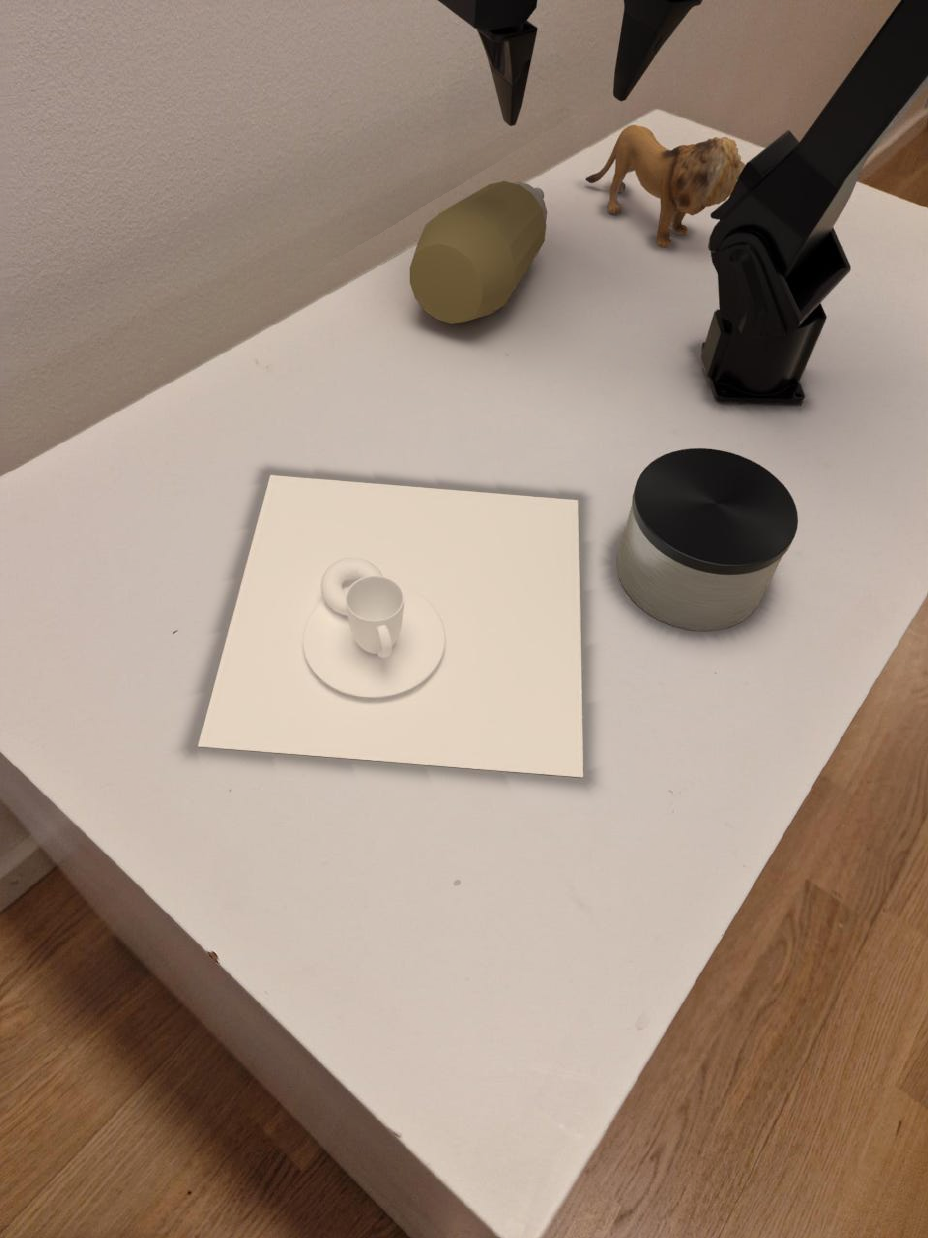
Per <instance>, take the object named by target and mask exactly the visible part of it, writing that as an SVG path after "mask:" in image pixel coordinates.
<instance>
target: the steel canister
mask: <svg viewBox="0 0 928 1238" xmlns="http://www.w3.org/2000/svg"><path fill="white" fill-rule="evenodd" d="M631 501H632V502H631V507H630V510H629V514H628V518H627V520H626V525H625V528H624V531H623V536H622V539H621V543H620V546H619V549H618V553H617V557H616V559H617V560H616V568H617V574H618V578H619V581H620V584H621V585H622V588H623V589H624V590H625V592H626V594H627V595H628V596H629V598H630V599H631V600H632V601H633V602H634V603H635V604H636V605H637V606H638V608H640V609H642V611H643V612H645V613H647V614H648V615H650V616H651V617H653V618H655V619H656V620H658V621H660V622H663V623H665V624H667V625H670V626H672V627H675V628H680V629H685V630H691V631H701V632H709V631H718V630H724V629H727V628H731V627H733V626H736V625H738V624H739V623H741V622H743V621H744V620H746V619H747V618H749V616H751V615H752V614H753V613H754V612H755V610H756V609H757V608H758V606H759V604H760V602H761V601H762V600H763V599H762V598H763V596H764V595H765V593H766V591H767V588H768V586H769V584H770V582H771V581H772V578H773V576H774V574H775V573H776V572H777V569H778V567H779V565H780V564H781V563H780V562H781V560H782V558H783V556H784V555H785V554H786V553H787V552H788V551H789V548H790V547H791V545H792V543H793V541H794V539H795V537H796V535H797V531H798V525H799V516H798V515H799V514H798V509H797V506H796V504H795V501H794V499H793V496H792V495H791V493H790V492H789V490H788V488H786V486H785V485H784V484H783V482H782V481H781V480H780V479H778V477H777V476H776V475H774V474H773V473H772V472H771V471H769V470H768V469H767V468H765V467H763V466H762V465H761V464H759V463H757V462H755V461H754V460H752V459H749V458H747V457H744V456H743V455H740V454H737V453H735V452H731V451H726V450H722V449H715V448H707V447H695V448H694V447H693V448H691V447H690V448H683V449H677V450H674V451H671V452H668V453H665V454H663V455H660V456H658V457H657V458H655V459H654V460H653V461H651V462H650V463H649V464H648V465H647V466H646V467H644V468H643V470H642V471H641V473H640V474H639V476H638V478H637V480H636V483H635V487H634V491H633V493H632V499H631Z"/></svg>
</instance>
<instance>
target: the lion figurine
mask: <svg viewBox="0 0 928 1238" xmlns="http://www.w3.org/2000/svg"><path fill="white" fill-rule="evenodd" d="M613 164H615V165H614V174H613V177H612V181H611V183H610V185H609V194H608V195H609V196H608V203H607V211H608V213H609V214H611V215H617V214H620V213H621V212H622V205H621V204H619V202H618V193H623V192H625V190H626V187H627V185H626V183H625V182H623V181H624V180H625V178H626V176H627V174H630V173H633V172H634V173H635V175H636V177H637V180H638V182H639V184H640V186H641V187H642V188H643V189H644V190H645V191H646V192H647V193H648V194H649V195H651V196H653V197H654V198H657V199H660V209H659V210H660V211H659V220H658V227H657V232H656V245H657V246H658V247H661V248H669V247H670V246H671V245H672V243H673V242H672V239H670V237H671V233H670V230H671V231H672V233H674V234H675V235H678V236H686V234H687V233H688V227H687V225H685V224H683V223H682V222H683V220H684V218H685V216H686V215H687V214H688V215H690V216H695V215H697V214H699V213H700V212H702V211H704V210H705V209H706V208H709V207H712V206H716V205H721V204H722V203H724V202H725V201H726V200H727V199H728V198H729V196H730V195H731V193H732V191H733V189H734V186H735V184H736V182H737V180H738V177H739V175H740V174H741V172H742V170H743V169H744V167H745V165H746V164H745V163H744V162H743V161H742V156H741V155H740V154H739V148H738V147H737V143H736V140H734V139H731V138H729V137H727V136H723V137H718V136H715V137H713V138H708V139H707V140H703V141H700V142H697V143H691V144H680V145H678V146H676V147H674V148H672V149H668V148H666V147H665V146H663V144H661V143H660V142H659V141H658V139H657V138H656V136H655V135H654V133H653V131H651V130H650V128H648V127H646V126H643V125H637V124H630V125H628V126H626V127H625V128H624V129H622V131H621V132H620V134H619V136H617V139H616V142H615V143H614V146H613V148H612V151H611V153H610V155H609V157H608V159H607V161H606V163H605V165H604V166H603V168H602V169H601V170H600V171H598V172H597V173H594V174H593V173H592V174H590V175H589V176H586V177H585V178H584V179H585V182H588V183H589V184H594V183H597V182H599V181H600V180H601V179H602V178H604V176H605V175H606V174H607V173H608V172H609V171H610V169H611V167H612V165H613Z"/></svg>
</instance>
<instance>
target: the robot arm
mask: <svg viewBox="0 0 928 1238" xmlns="http://www.w3.org/2000/svg"><path fill="white" fill-rule="evenodd" d="M437 1H438V2H439V3H440V4H441V5H443V6H445V7H446V8H447V9H448V10H449V11H451V12H452V13H454V14H455V15H457V17H458V18H460V19H462V20H463V21H464V22H465V23H467V24H468V25H469V26H471V27H472V28H473V29H475V30H476V31H477V33H478V35H479V38H480V41H481V43H482V46H483V49H484V51H485V54H486V57H487V61H488V64H489V65H488V66H489V69H490V72H491V73H490V74H491V77H492V82H493V84H494V89H495V93H496V97H497V100H498V101H497V102H498V104H499V109H500V113H501V116H502V119H503V121H504V123H506V124H507V125H508V126H509V127H514V126H516V125H517V122H518V120H519V116H520V113H521V110H522V106H523V102H524V98H525V94H526V87H527V84H528V79H529V73H530V68H531V63H532V59H533V55H534V54H533V53H534V50H535V43H536V39H537V35H538V27H537V26H536V25H534V24H533V23H531V22H530V21H528V20H529V19H530V17H531V16H532V14H533V13H534V12H535V10H536V9H537V7H538V0H437ZM702 3H703V0H623V5H624V6H623V14H622V21H621V27H620V33H619V40H618V46H617V53H616V59H615V65H614V72H613V85H612V96H613V98H615V99H616V100H617V101H618V102H625V101H626V100H627V99H628V97H629V96H630V94H631V93H632V92H633V90H634V89H635V87H636V86H637V84H638V82H639V81H640V80H641V78H642V77H643V75H645V72H646V71H647V70H648V68H649V67H650V66H651V64H652V62H653V60H654V59H655V57H656V56H657V55H658V53H659V52H660V50H661V49H662V47H663V46H664V45H665V44H666V42H667V41H668V40H669V38H670V37H671V35H672V34H673V33H674V32H675V30H676V29H677V28H678V26H679V25H680V24H681V23H682V22H683V20H684V19H685V18H686V16H687V15H688V13H689V12H690V11H691V10H692V9H693V8H694V7H698V6H701V4H702ZM927 85H928V0H900V1H899V2H898V4H896V7H895V8H894V9H893V10H892V12H891V13H890V15H889V16H888V18H887V19H886V20H885V22H884V23H883V24H882V26H881V27H880V28H879V30H878V32H877V33H876V34H875V36H874V37H873V39H872V40H871V41H870V43H869V44H868V45H867V47H866V48H865V50H864V51H863V53H862V54H861V55H860V56H859V58H858V60H857V61H856V63H854V65H853V66H852V68H851V69H850V71H849V72H848V73H847V75H846V76H845V78H844V80H843V81H842V82H841V83H840V85H839V86H838V88H837V89H836V91H834V93H833V95H832V96H831V97H830V99H829V101H828V102H827V103H826V104H825V106H824V107H823V109H822V110H821V111H820V113H819V114H818V116H817V117H816V118H815V120H814V121H813V123H812V124H811V126H810V127H809V128H808V130H807V131H806V132H805V133H804V135H803V136H802V138H801V139H800V141H799V140H798V139H797V138H796V136H795V135H794V133H792V132H791V130H789V129H787V130H786V131H785V132H783V133H782V134H780V136H779V137H777V138H776V139H775V140H773V141H772V142H770V144H768V145H767V146H766V147H765V148H764V149H762V150H761V151H760V152H759V153H757V154H756V155H755V156H754V157H753V158H751V159H750V160H749V161H747V162H746V164H745V167H744V169H743V170H742V172H741V174H740V175H739V177H738V180H737V182H736V184H735V186H734V189H733V191H732V193H731V195H730V196H729V197H728V198H727V199H726V200H725V201H723V202H722V203H721V204H719V206H718V207H716V208H715V209H714V210H713V211H712V212H711V213H710V218H711V219H713V220H718V222H717V223H716V224H715V225H714V227H713V229H712V231H711V233H710V236H709V239H708V244H707V249H708V251H709V252H710V257H711V263H712V266H713V267H714V270H715V271H716V274H717V284H718V285H717V287H718V301H719V302H718V303H719V305H718V306H719V308H718V309H716V310H715V311H714V312H713V315H712V318H711V322H710V325H709V328H708V331H707V335H706V337H705V341H703V343H702V344H701V347H700V352H701V354H700V359H701V363H702V365H703V369H704V372H705V376H706V377H707V379H708V380H709V382H710V386H711V389H712V393H713V396H714V398H715V401H718V402H719V403H727V404H728V403H729V404H731V403H734V404H771V405H773V404H775V405H777V404H779V405H801V404H803V402H804V400H805V398H806V394H805V392H804V389H803V387H802V384H801V380H802V378H803V375H804V373H805V370H806V369H807V366H808V363H809V361H810V359H811V356H812V354H813V351H814V349H815V347H816V344H817V342H818V340H819V337H820V335H821V333H822V331H823V328H824V326H825V324H826V322H827V320H828V319H827V318H828V315H826V312H825V309H824V307H823V305H822V302H823V301H824V300H825V299H826V298H827V297H828V296H829V294H830V293H831V292H833V290H834V289H835V288H836V287H837V286H838V285H839V284H840V283H841V282H842V281H843V279H845V277H847V276H848V274H849V273H850V272H851V270H852V269H851V268H852V266H851V264H850V261H849V260H848V257H847V255H846V253H845V250H844V248H843V246H842V244H841V241H840V239H839V237H838V234H837V232H836V230H835V225H836V223H837V222H838V220H839V218H840V216H841V214H842V213H843V211H844V209H845V208H846V206H847V204H848V202H849V200H850V198H851V196H852V194H853V192H854V189H855V187H856V185H857V182H858V180H859V178H860V175H861V172H862V171H863V168H864V166H865V164H866V163H867V161H868V159H869V158H870V156H872V154H873V153H874V151H875V150H876V149H878V147H879V145H880V144H881V143H882V142H883V141H884V139H885V138H886V137H887V135H889V133H890V132H891V130H892V129H893V128H894V127H895V125H896V124H897V123H898V122H899V120H900V119H901V118H902V117H903V116H904V114H905V113H906V112H907V111H908V109H909V108H910V107H911V106H912V105H913V104H914V102H915V100H917V98H918V97H919V95H921V93H922V92H923V91H924V89H925V88H926V87H927Z"/></svg>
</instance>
